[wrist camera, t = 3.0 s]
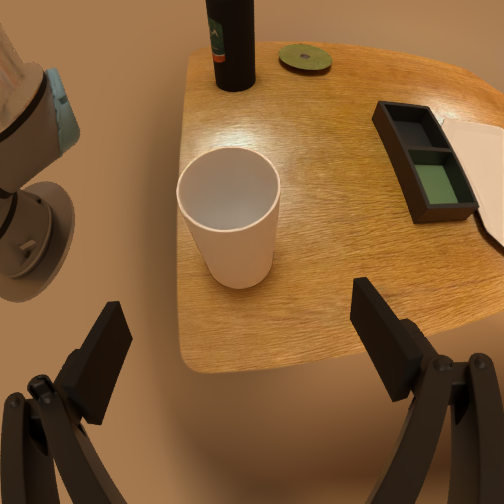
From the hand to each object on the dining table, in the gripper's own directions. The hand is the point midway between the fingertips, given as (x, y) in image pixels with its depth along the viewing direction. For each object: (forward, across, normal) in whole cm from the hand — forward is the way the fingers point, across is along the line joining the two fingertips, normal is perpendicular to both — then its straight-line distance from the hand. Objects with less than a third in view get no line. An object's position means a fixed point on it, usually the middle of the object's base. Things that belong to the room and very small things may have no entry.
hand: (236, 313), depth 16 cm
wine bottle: (+46, +2, +19) cm, 50 cm away
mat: (+51, +17, +23) cm, 58 cm away
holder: (+30, +31, +3) cm, 43 cm away
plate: (+28, +53, +1) cm, 60 cm away
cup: (+21, 0, -6) cm, 22 cm away
